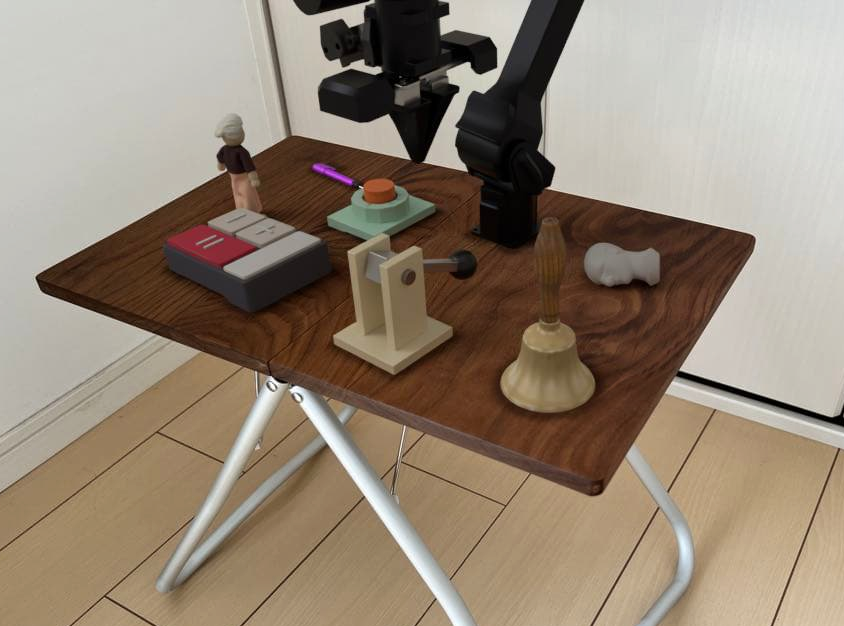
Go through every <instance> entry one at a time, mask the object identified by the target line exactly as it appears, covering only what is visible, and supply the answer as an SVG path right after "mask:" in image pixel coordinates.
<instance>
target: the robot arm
mask: <svg viewBox="0 0 844 626" xmlns="http://www.w3.org/2000/svg"><path fill="white" fill-rule="evenodd" d="M292 1H293V3H294V5H295V6H296V7H297V9H298V10H299V11H300V12H302V13H303V14H304V15H306V16H316V15H319V14H323V13H329V12H332V11H336V10H341V9H344V8H349V7H353V6H357V5H361V4H365V5H364V9H363V22H361V23H359V24H356V25H353V26H348V23H347V22H346V21H345V20H344V18H339V19H336V20H333V21H329V22H326V23H324V24H321V25H319V37H320V38H319V39H320V47H321V49H322V52H323V55H324V57H325V59H327V61H329V62H333V61H336V60H339V62H340V66H341V68H343V69H344V68H347V67H349V66H351V64H352V63H356V62H360V61H363V64H364V66H365V67H368V68H369V67H370V68H376V67H379V68H380V72H379V73H376V74H373V73H370V72H366V71H362V70H358V69H354V68H349V69H346V70H343V71H340V72H338V73H334V74H332V75H330V76H327V77H324V78H323V79H322V80H321V82H319V85H318V86H317V98H318V103H319V104H318V105H319V111H320V112H323V113H326V114H329V115H333V116H335V117H339V118H342V119H345V120H348V121H352V122H355V123H359V124H368V123H372V122H374V121H376V120H378V119H381V118H383V117H385V116H389V117H390V120H391V121H392V123H393V124H394V127H395V128H396V131H397V133H398V135H399V137H400V140H401V142H402V144H403V147H404V149H405V150H406V152H407V155H408V158H409V159H410V161H411V162H412V163H414V164H415V165H416V164H417V165H420V164H422V163H424V162H425V161H426V159H427V157H428V154H429V152H430V149H431V147H432V145H433V143H434V140H435V138H436V135H437V133H438V130H439V128H440V126H441V123H442V122H443V120H444V117H445V116H446V113H447V111H448V109H449V107H450V106H451V103H452V101H453V100H454V98H455V96H456V95H457V94H459V93H460V90H461V87H460V86H459V85H458V84H454V83H450V79H449V78H450V77H449V76H448V74H447V73H448V71H449V70H452V69H454V68H456V67H459V66H461V65H465V64H467V63H470V69H471V70H472V71H473V72H474V74H476V75H479V76H482V75H484V74H487V73H489V72H491V71H493V70H497V69H498V47H497V45H496V44H495V43H494V40H492V38H491V37H490V36H486V35H483V34H477V33H472V32H469V31H463V30H459V29H458V30H457V29H454V30H452V31H448V32H445V33H443V34H442V32H441V30H442V29H441V18H444V17H447V16H450V15H451V14H450V2H448V1H443V0H373V2H372V3H369V2H370V1H371V0H292ZM366 3H368V4H366ZM584 3H585V0H530V3H529V4H528V7H527V9H526V11H525V14H524V16H523V19H522V22H521V24H520V26H519V29H518V32H517V33H516V36H515V38H514V40H513V43H512V46H511V48H510V51H509V53H508V55H507V57H506V60H505V62H504V65H503V66H502V69H501V72H500V74H499V76H498V79H497V80H496V82H495V83H494V84H493V85H492V86H491V87H490V88H488V89H487V90H486V91H485V92H483V93H482V92H480V91H477V90H475V89H474V90H472V91H471V92H470V93H469V95H468V97H467V99H466V103H465V106H464V110H463V112H462V114H461V116H460V118H459V119H458V121H457V122H456V123H455V125H454V127H455V128H456V129H458V130H457V133H456V136H455V141H454V147H455V148H456V151H457V156H458V158H459V161H460V162H461V163H463V164H464V166H465V168H466V170H467V173H468V175H469V176H471V177H474V178H477V179H479V180H481V181H483V183H482V184H481V185H480V188H479V189H480V201H479V204H478V205H479V207H478V208H479V224H477V225H476V226H474V227H472V228H471V229H470V234H471V235H473V236H475V237H478V238H480V239H484V240H486V241H489V242H492V243H494V244H497V245H500V246H502V247H506V248H508V249H511V250H516V249H518V248H520V247H521V246H523V245H525V244H526V243H528V242H529V241H531V240H533V239H534V238H537V236H538V234H539V231H540V228H541V224H542V221H539V220H538V196H540V195H542V194H543V191H544V190H546V189H548V188H550V187H551V186H552V183H553V180H554V176H555V172H556V166H555V164H553V163H552V162H551V161H550V160H549V159H548V158H547V157H546V156H544V154H542V153H541V152H540V151H539V146H540V143H541V141H542V138H543V134H544V127H543V126H544V125H543V116H542V115H543V113H542V100H543V98H544V96H545V93H546V90H547V89H548V87H549V84H550V81H551V80H552V77H553V74H554V72H555V70H556V67H557V66H558V63H559V60H560V58H561V57H562V56H561V55H562V53H563V52H564V49H565V47H566V45H567V42H568V39H569V37H570V35H571V32H572V30H573V28H574V26H575V23H576V21H577V19H578V16H579V14H580V12H581V11H582V10H581V9H582V7H583V5H584Z"/></svg>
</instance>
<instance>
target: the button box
mask: <svg viewBox="0 0 844 626" xmlns="http://www.w3.org/2000/svg"><path fill="white" fill-rule="evenodd" d="M394 185H395V196H396V198H395V200H393V201H391V202H389V203H384V204H370V203H367V202H365V198H364V189H363V188H359V189H358V190H356V191H354V193H353V194H352V196H351V198H350V201H351V204H350V205H347V206H346V207H344V208H342V209H339V210H338V211H336V212H334V213H332V214H330V215H327V216H326V220H327V226H328V227H330V228H333V229H336V230H338V231H341V232H343V233H349V234H351V235H353V236H355V237H359V238H361V239H362V240H365V241H368V240H370V239H372V238H373V237H375V236H377V235H379V234H381V233H384V234H386V235H389V236H390V237H391V236H393V235H395V234H397V233H399V232H401V231H403V230H405V229H406V228H408V227H410V226H412V225H414V224H416V223H417V222H419V221H422V220H423V219H425V218H427V217H429V216H431V215H432V214H434V213H436V203H433V202H430V201H426V200H424V199H421V198H419V197H416V196H413V195H410V194H409V192H408V191H407V190H406V188H405V187H401V186H400V185H396V184H394Z"/></svg>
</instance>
